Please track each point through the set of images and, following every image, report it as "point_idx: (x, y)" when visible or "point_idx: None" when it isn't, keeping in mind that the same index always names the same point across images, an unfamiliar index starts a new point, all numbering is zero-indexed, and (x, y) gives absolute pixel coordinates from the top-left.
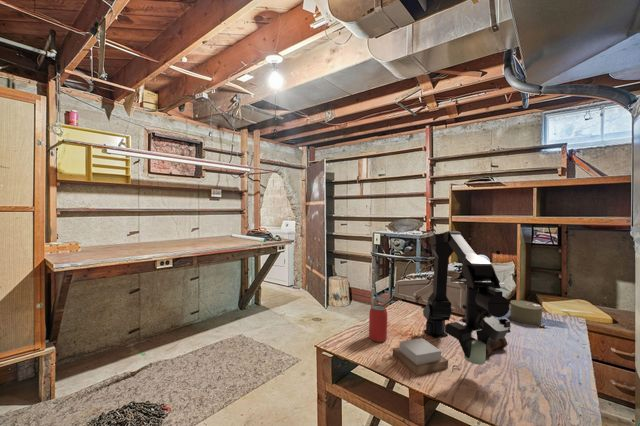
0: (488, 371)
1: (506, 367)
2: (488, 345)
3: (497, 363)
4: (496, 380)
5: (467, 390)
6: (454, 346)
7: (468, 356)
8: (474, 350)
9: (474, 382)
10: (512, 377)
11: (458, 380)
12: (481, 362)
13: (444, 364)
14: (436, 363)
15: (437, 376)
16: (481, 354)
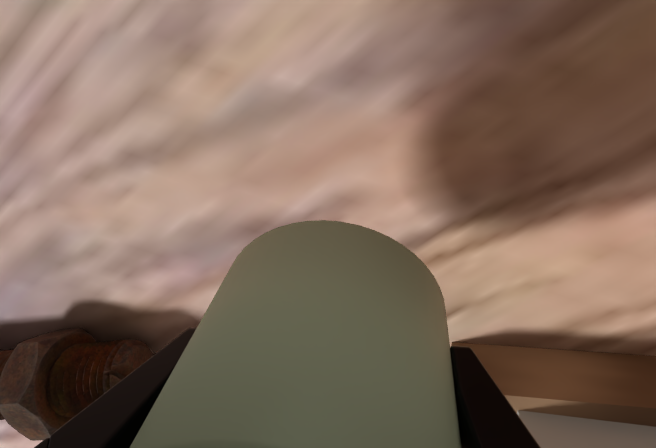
0: (183, 215)
1: (9, 203)
2: (3, 390)
3: (48, 256)
4: (208, 107)
5: (619, 81)
6: None
7: (483, 366)
8: (435, 429)
9: (427, 150)
10: (39, 93)
11: (536, 216)
12: (346, 238)
13: (494, 371)
14: (595, 400)
15: (646, 306)
16: (335, 323)
